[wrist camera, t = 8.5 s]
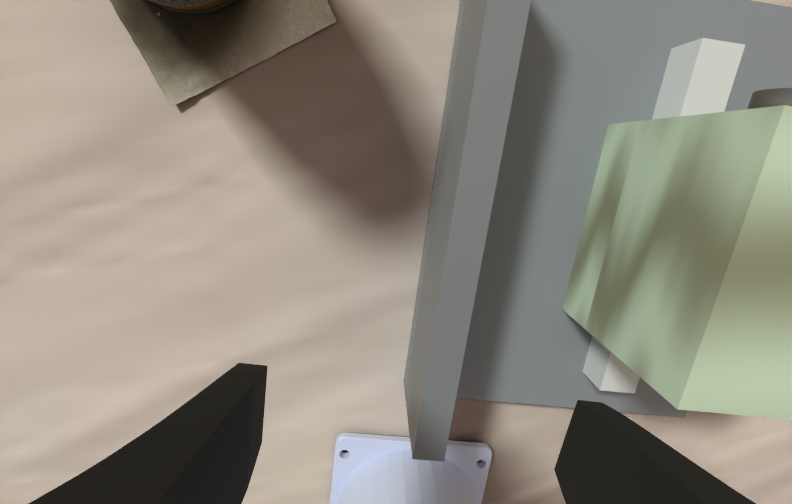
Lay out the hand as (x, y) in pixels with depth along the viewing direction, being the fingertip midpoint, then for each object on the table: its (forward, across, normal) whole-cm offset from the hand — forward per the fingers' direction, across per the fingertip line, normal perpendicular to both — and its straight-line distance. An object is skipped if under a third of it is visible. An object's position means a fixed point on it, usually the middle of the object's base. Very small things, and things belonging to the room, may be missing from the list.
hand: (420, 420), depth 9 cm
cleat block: (+8, -10, -4) cm, 14 cm away
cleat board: (+9, -8, -4) cm, 13 cm away
